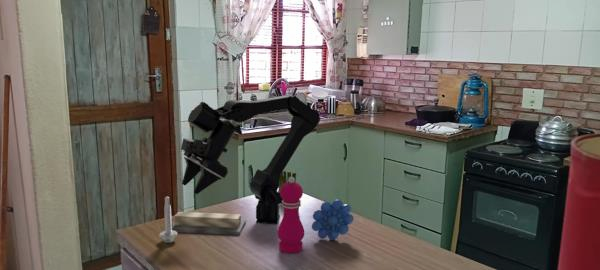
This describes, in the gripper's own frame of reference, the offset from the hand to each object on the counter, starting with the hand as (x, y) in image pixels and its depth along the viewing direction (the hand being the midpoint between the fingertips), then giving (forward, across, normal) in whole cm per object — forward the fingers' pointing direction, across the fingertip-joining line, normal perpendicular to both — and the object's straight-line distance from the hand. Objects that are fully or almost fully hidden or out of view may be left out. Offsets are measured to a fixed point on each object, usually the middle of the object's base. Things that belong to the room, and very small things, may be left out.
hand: (189, 188), depth 128 cm
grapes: (-7, +22, +36) cm, 43 cm away
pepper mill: (0, +21, +25) cm, 33 cm away
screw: (+15, 0, +3) cm, 16 cm away
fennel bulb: (-9, -10, +39) cm, 42 cm away
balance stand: (+8, -4, +14) cm, 16 cm away
